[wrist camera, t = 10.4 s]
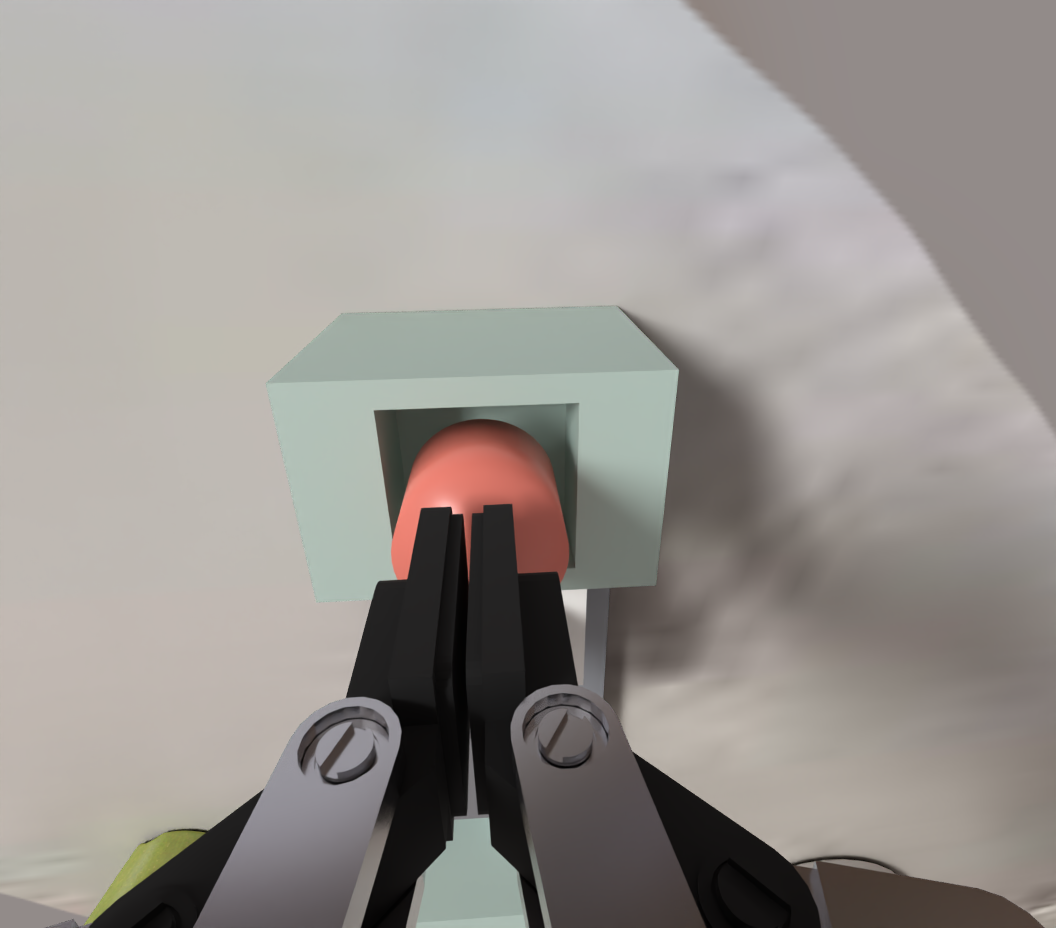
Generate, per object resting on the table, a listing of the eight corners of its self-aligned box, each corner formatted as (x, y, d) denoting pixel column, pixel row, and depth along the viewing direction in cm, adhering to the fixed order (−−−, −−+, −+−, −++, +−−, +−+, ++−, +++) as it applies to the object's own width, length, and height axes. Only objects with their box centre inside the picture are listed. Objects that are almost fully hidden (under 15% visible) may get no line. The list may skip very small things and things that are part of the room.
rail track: (589, 823, 32) (613, 983, 25) (424, 834, 31) (408, 999, 25) (616, 305, 19) (679, 369, 13) (341, 313, 19) (265, 383, 12)
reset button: (554, 542, 15) (568, 620, 13) (417, 549, 15) (401, 629, 12) (555, 416, 14) (571, 475, 11) (402, 421, 13) (380, 483, 11)
